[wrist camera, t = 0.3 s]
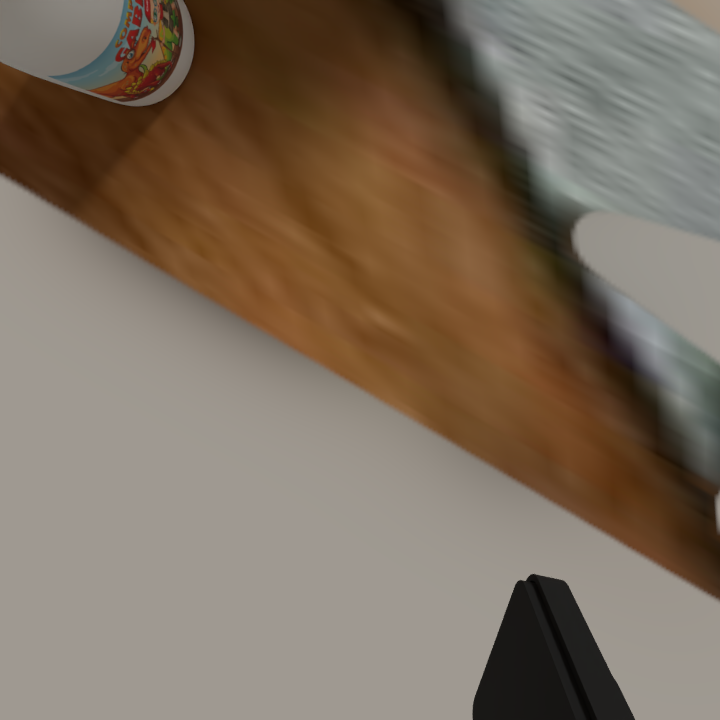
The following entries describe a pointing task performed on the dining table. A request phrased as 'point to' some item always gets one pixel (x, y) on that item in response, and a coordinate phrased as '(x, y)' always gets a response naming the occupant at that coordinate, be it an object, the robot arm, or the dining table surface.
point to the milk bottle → (101, 45)
